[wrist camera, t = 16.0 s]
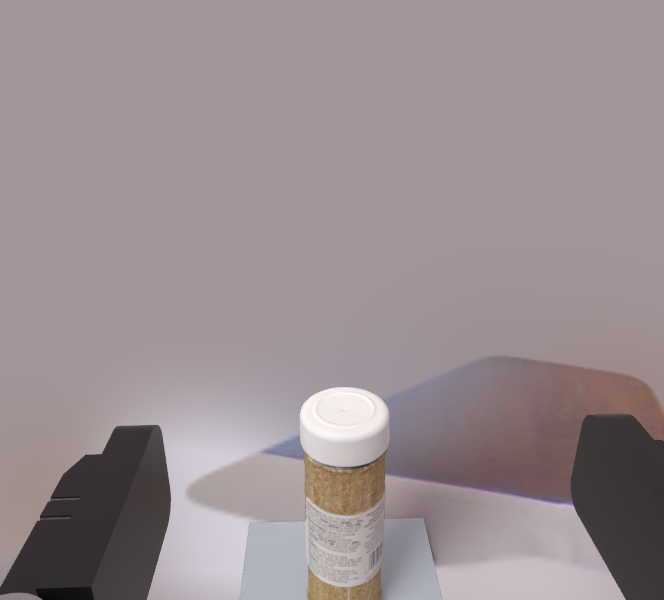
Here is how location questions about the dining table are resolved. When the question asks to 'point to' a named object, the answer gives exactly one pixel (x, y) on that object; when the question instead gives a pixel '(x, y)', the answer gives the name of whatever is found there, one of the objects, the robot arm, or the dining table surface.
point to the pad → (292, 568)
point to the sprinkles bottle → (344, 492)
